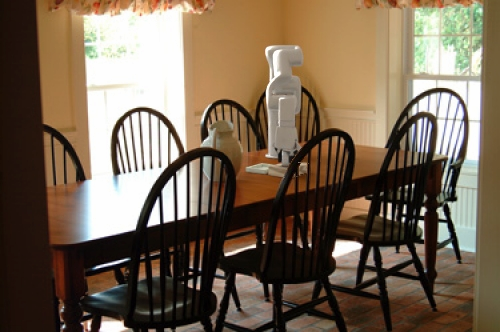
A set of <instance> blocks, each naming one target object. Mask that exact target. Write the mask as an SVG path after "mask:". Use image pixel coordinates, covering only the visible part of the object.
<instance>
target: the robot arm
mask: <svg viewBox="0 0 500 332" xmlns="http://www.w3.org/2000/svg"><path fill="white" fill-rule="evenodd" d="M264 53H265V58H266V61H267V62H268V67H269V83H268V84H267V87H266V90H265V96H266V97H265V99H266V100H265V102H266V111H267V123H268V124H267V125H268V127H267V128H268V130H267V134H268V139H267V140H268V141H267V142H268V143H267V145H268V153H265V154H264V155H265V156H264V157H265V158H267V159H274V160H275V159H277V163H278V164H280V163H282V151H283V150H290V152H291V156H290V163H291V161H292V159H293V158H294V157H295V155H296V154H298V153H299V152H300V151H301V150H302V149H303V148H302V146H301V145H300V143H299V139H298V129H297V127H296V115H299V113H300V112H301V106H302V105H301V104H302V102H301V101H302V83H301V79H300V77H299V76H297V75H293V71H292V67H302V66H303V64H304V53H303V49H302V48H301V47H300V45H298V44H297V45H295V44H293V45H292V44H291V45H290V44H287V45H286V44H285V45H283V44H280V45H279V44H277V45H267V47H266V48H265V52H264ZM301 148H302V149H301ZM300 149H301V150H300ZM299 150H300V151H299ZM298 151H299V152H298ZM296 156H297V155H296Z"/></svg>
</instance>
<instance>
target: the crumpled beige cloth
mask: <svg viewBox="0 0 500 332" xmlns="http://www.w3.org/2000/svg"><path fill="white" fill-rule="evenodd" d="M300 163H301V164H300V166H299V176H301V175H300V174H303V175H305V174H304V173H306V174H308V173H307V164H305V163H306V162H304V163H303V162H300ZM272 165H273V166H269V167H268V168H269V173H268V176H272V177H280V178H284V177H283V176H284V174H285V172H286V170H287V168H288V167H282V162H280V163H277V164H272ZM293 178H296V177H295V174H294V177H293Z"/></svg>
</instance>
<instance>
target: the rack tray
mask: <svg viewBox="0 0 500 332" xmlns="http://www.w3.org/2000/svg"><path fill="white" fill-rule="evenodd" d="M273 165H274V164H270V163H258V164H255V165H251V166H245V172H247V173H251V174H258V175H259V174H260V175H267V174H268V175H269V168H268V167H269V166H273Z"/></svg>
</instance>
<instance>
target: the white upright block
mask: <svg viewBox="0 0 500 332" xmlns="http://www.w3.org/2000/svg"><path fill="white" fill-rule="evenodd" d="M290 156H291V152H290V150H283V151H282V162H281V163H282V167H288V166H289V164H290Z"/></svg>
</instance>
